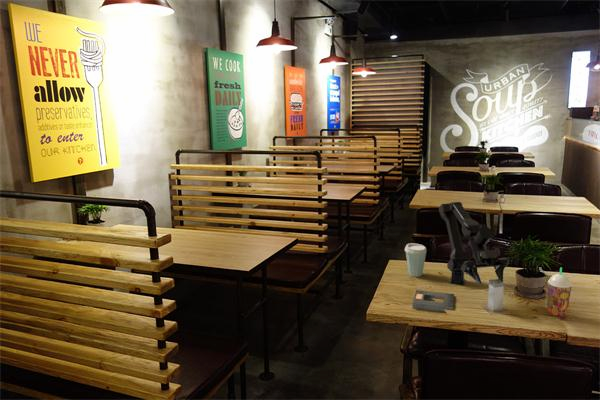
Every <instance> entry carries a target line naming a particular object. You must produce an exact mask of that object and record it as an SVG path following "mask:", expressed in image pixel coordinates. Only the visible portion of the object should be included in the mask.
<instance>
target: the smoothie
mask: <svg viewBox="0 0 600 400" xmlns="http://www.w3.org/2000/svg"><path fill="white" fill-rule="evenodd" d="M562 272H563V267H560V268H559V273H554V274H553V275H552V276H550V278H549V279H548V280H547V304H546V305H547V308H546V309H547V310H546V311H547V312H548V313H549V314H550V315H554V316H556V317H557V318H559V319H563V318H565V317H566V316H567V315H568V310H569V304H570V303H569V302H570V296H571V292H572V287H573V284H572V282H571V280H570V278H569V277H568V276H566V275H565V274H563V273H562Z"/></svg>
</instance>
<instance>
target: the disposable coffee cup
mask: <svg viewBox="0 0 600 400" xmlns="http://www.w3.org/2000/svg"><path fill="white" fill-rule="evenodd" d="M404 252H405V257H406V263H407V271H408V275H409V276H411V277H414V278H417V277H421V276H422V275H423V272H424V266H425V261H426V256H427V247H426V246H424V245H423V244H419V243H415V242H414V243H412V242H411V243H407V244H406V245H405V247H404Z"/></svg>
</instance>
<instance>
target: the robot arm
mask: <svg viewBox="0 0 600 400" xmlns="http://www.w3.org/2000/svg"><path fill="white" fill-rule="evenodd" d="M438 212H439V214H440V217H441V219H442V220H443V221H444V222H445V224H446V228H447V233H448V237H449V238H448V239H449V242H450V246H451V253H450V255H449V256H450V257H449V258H450V260H448V262H447V263H446V265H447V266H446V267H447V269H448V270H449V271H450V272H451V275H450V281H449V283H450V284H452V285H453V284H455V285H466V279H465V275H469V276H470V278H471V279H473V280H474V281H475V282H476V283H477V284H478V285H479V286H482V285H483V283H482V279H481V278H480V275H479V272H478V268H479V269H480V268H490V267H491V268H493V269H494V272H495V274H496V277H497V279H499V280H501V281H502V282H503V283H504V270H505V269H506V267H507V266H509V264H510V262H509V260H508V259H507V258H506V257H501V258H498V256H500V255H501V251H500V248H499V247H493V248H492V249H490V250H489V248H487V246H486V245H487V244H488V242H490V240H491V239H492V238H493V237H494V231H493V230H492V229H491V228H490V227H487V226H486V224H480V223H479V222H478V221H476V220H475V219H472V218H471V216H470V215H469V213H468V212H467V210H466V209H465V208H464V206H463V203H462V202H461V201H452V202H449V203H441V204H440V205H439V207H438ZM457 220H458V221H459V223H460V224H461V225H460V226H461V232H462V234H463V236H464V237H465V238H469V241H468V242H467V246H470V248H471V252H472V258H473V259H474V260H471V258H470V257H469V256H470V255H469V252H468V250H465V249H464V248H463V244H462V239H461V235H460V231H459V226H458V225H459V224H458V223H457V222H458V221H457ZM494 258H497V259H496V260H495V261H493V260H494Z"/></svg>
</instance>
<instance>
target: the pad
mask: <svg viewBox="0 0 600 400" xmlns="http://www.w3.org/2000/svg"><path fill="white" fill-rule="evenodd" d="M480 307H481V308H482V309H483V310H484V311H486V312H487V313H488V314H490V315H500V314H501V315H503V314H510V312H509V311H508V310H507V309H505V308H504V306H502V311H497V312H492V311H491V310H490V309H489V308H488V304H487V305H480Z"/></svg>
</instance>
